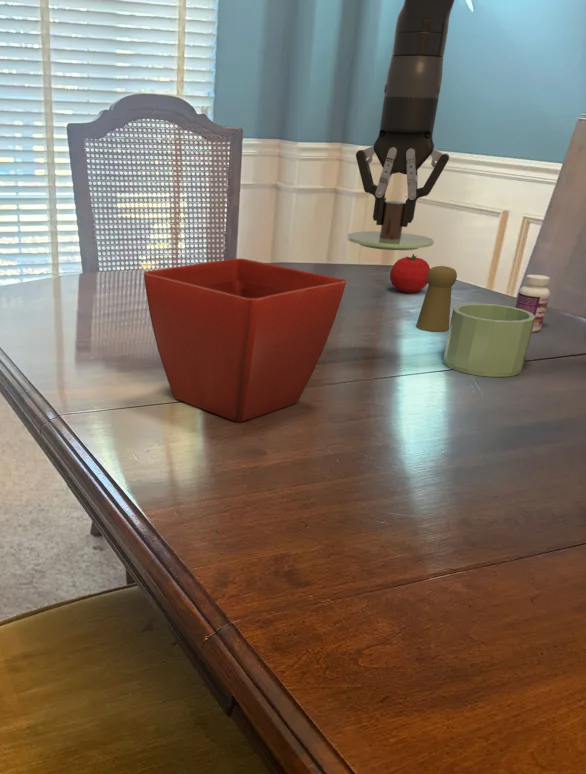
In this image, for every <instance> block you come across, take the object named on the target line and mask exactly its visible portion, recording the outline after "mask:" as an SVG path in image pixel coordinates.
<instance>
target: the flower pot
mask: <svg viewBox="0 0 586 774" xmlns="http://www.w3.org/2000/svg"><path fill="white" fill-rule="evenodd" d="M143 279H144V288H145V294H146V299H147V306H148V311H149V312H148V313H149V317H150V321H151V327H152V331H153V336H154V340H155V343H156V346H157V351H158V354H159V357H160V361H161V365H162V367H163V371H164V374H165V376H166V379H167V383H168V385H169V388H170V390H171V393H172V395H173V397H174V398H175V399H177V400H179V401H181V402H183V403H184V402H185V403H187V404H189V405H192V406H194V407H197V408H200V409H202V410H204V411H207V412H209V413H212V414H215V415H217V416H219V417H222V418H225V419H227V420H230V421H233V422H237V423H238V422H240V423H241V422H245V421H249V420H251V419H255V418H257V417H261V416H263V415H266V414H268V413H272V412H274V411H277V410H280V409H284V408H286V407H289V406H292V405H295V404H297V403H298V402H299V400H300V399H301V397H302V395H303V393H304V391H305V390H306V386H307V385H308V383H309V381H310V380H311V377H312V375H313V373H314V372H315V369H316V367H317V364H318V362H319V360H320V358H321V355H322V353H323V351H324V348H325V346H326V344H327V341H328V338H329V336H330V333H331V331H332V328H333V325H334V322H335V319H336V317H337V313H338V311H339V308H340V305H341V302H342V298H343V296H344V291H345V288H346V283H347V281H346V279H343V278H338V277H333V276H328V275H323V274H319V273H314V272H310V271H305V270H300V269H295V268H292V267H291V268H290V267H286V266H280V265H277V264H271V263H268V262H267V263H266V262H262V261H257V260H252V259H247V258H229V259H222V260H221V259H220V260H215V261H208V262H201V263H195V264H187V265H180V266H174V267H167V268H160V269H152V270H147V271H144V272H143Z"/></svg>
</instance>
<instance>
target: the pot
mask: <svg viewBox="0 0 586 774" xmlns="http://www.w3.org/2000/svg"><path fill="white" fill-rule="evenodd" d="M534 321H535V316H534V315H533V314H532V313H531V312H528V311H526V310H523V309H519V308H515V307H513V306H510V305H509V306H508V305H503V304H494V303H464V304H459V305H456V306H455V307H453V308H452V313H451V317H450V322H449V330H448V332H447V333H448V334H447V339H446V342H445V343H446V344H445V349H444V354H443V364H444V365H445V366H446V367H448V368H450V369H452V370H454V371H457V372H460V373H463V374H468V375H473V376H480V377H489V378H508V377H513V376H517V375H519V374H520V373H522V370H523V367H524V364H525V362H526V357H527V353H528V349H529V344H530V341H531V337H532V333H533V332H532V329H533V325H534Z"/></svg>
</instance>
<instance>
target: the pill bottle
mask: <svg viewBox="0 0 586 774" xmlns="http://www.w3.org/2000/svg"><path fill="white" fill-rule="evenodd" d="M550 280H551V278H550V277H549V276H547V275H541V274H527V275H526V278H525V285H523V286H521V288H520V289H519V291H518V294H517V298H516V303H515V307H514V308H519V309H523V310H526V311H528V312H531V313H532V314H533V315H534V316H535V321H534V325H533V329H532V333H536V332H537V333H538V332H539V331H541V329H542V326H543V323H544V318H545V315H546V311H547V307H548V303H549V300H550V295H551V292H550V290H549V288H547V287H549V284H550Z"/></svg>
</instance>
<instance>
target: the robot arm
mask: <svg viewBox="0 0 586 774" xmlns="http://www.w3.org/2000/svg"><path fill="white" fill-rule="evenodd" d="M454 3H455V0H404V1H403V5H402V7H401V9H400V12H399V13H398V16H397V19H396V24H395V30H394V36H393V43H392V50H391V57H390V63H389V67H388V70H387V74H386V81H385V84H384V89H383V94H384V95H383V100H382V101H383V102H382V109H381V117H380V122H379V123H380V124H379V132H378V136H377V138H376V140H375V141H374V143H373V145H372V146H369V147H368V148H364V149H360V150H358V151H356V153H355V158H356V163H357V167H358V170H359V175H360V178H361V183H362V188H363V191H364V192H365V193H366V194H371V195H372V196H373V197H374V205H373V213H372V219H373V221H376V222H375V223H376V224H375V225H376V226H381V223H382V216H383V210H384V203H385V202H386V201H387V197H386V192H387V189H388V186H389V184H390V181H391V179H392V176H393V174H402V175H406V185H407V199H406V200H405V209H404V215H403V222H402V227H403V228H407V227H408V226H409V224H411V223H412V222H413V220H414V217H415V210H416V205H417V201H418V199H420V198H424V197H427V196H428V195H429V194H431V192H432V190H433V188H434V186H435V185H436V183H437V181H438V179H439V178H440V176H441V175H442V173H443V171H444V169H445V168H446V166H447V164H448V162H449V161H450V155H449V154H448V153H447V152H445V153H443V152H441V151H440V150H439V149H436V148H435V143H434V139H433V134H434V128H435V122H436V117H437V110H438V105H439V98H440V92H441V86H442V80H443V70H444V69H443V68H444V56H445V52H446V51H445V50H446V45H447V39H448V33H449V26H450V25H449V23H450V17H451V13H452V9H453V7H454ZM374 155H376V157H377V159H378V162H379V163H380V165H381V167H382V170H381V173H380V177H379V179H378V184H375V183H374V180H373V179H374V178H373V176H372V172H371V166H370V164H371V163H372V162H373V157H374ZM430 156H431V159H432V160H431V162H430V166H431V167H432V168H433V169H432V170H431V173H430V174H429V177H427V180H426V181H425V183H424V185H423V186H421V187H419V188H418V181H419V179H418V175H419V173H418V170H419V169H420V168H421V167H422V166H423V164H425V162H426V161H427V160H428V158H429V157H430Z"/></svg>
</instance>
